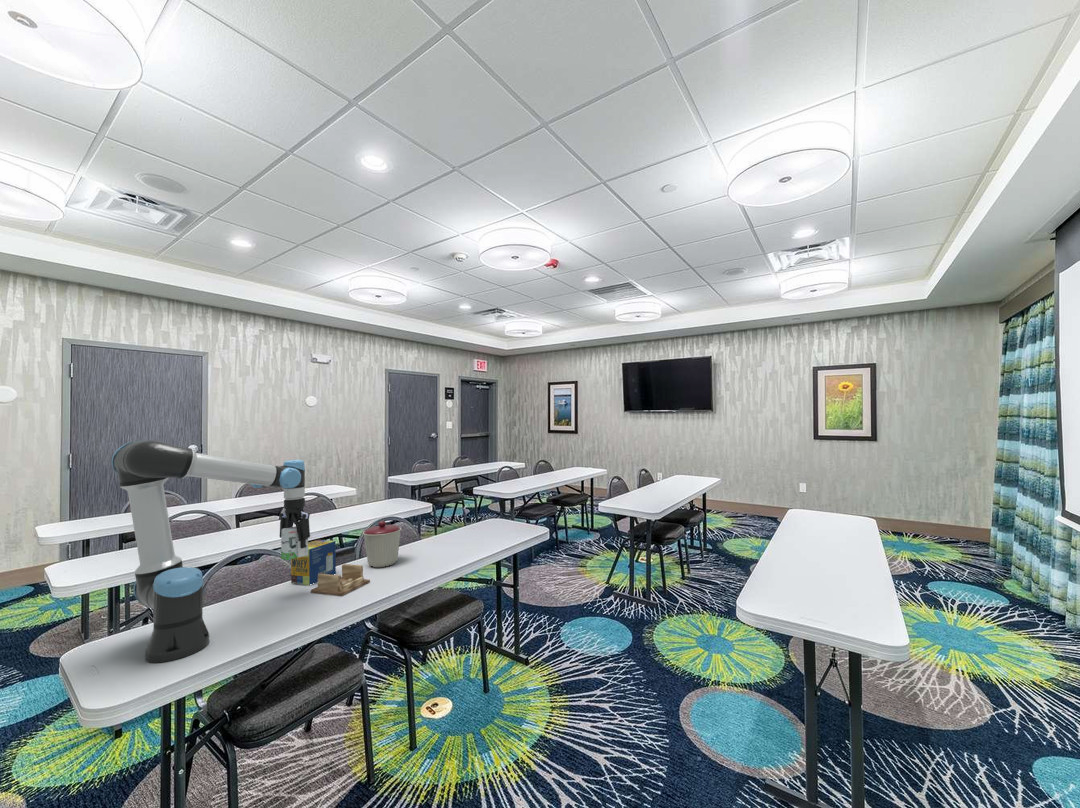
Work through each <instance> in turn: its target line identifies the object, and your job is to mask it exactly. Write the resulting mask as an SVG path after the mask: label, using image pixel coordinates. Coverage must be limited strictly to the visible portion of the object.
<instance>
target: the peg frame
mask: <svg viewBox="0 0 1080 808" xmlns="http://www.w3.org/2000/svg"><path fill="white" fill-rule="evenodd" d="M370 583H371V579H368V578H367V579H366V578H365V577H364V566H363V565H362V564H360V565H359V564H349V563H344V564H341V574H336V575H330V574H319V575H318V582H317V586H316V587H315V588H311V589H310V593H311V594H318V595H325V596H327V595H328V596H336V597H343V596H346V595H347V594H350V593H352V592H353V591H355V590H356V591H357V590H358V589H359V588H362V587H364V586H366V585H368V584H370Z"/></svg>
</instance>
